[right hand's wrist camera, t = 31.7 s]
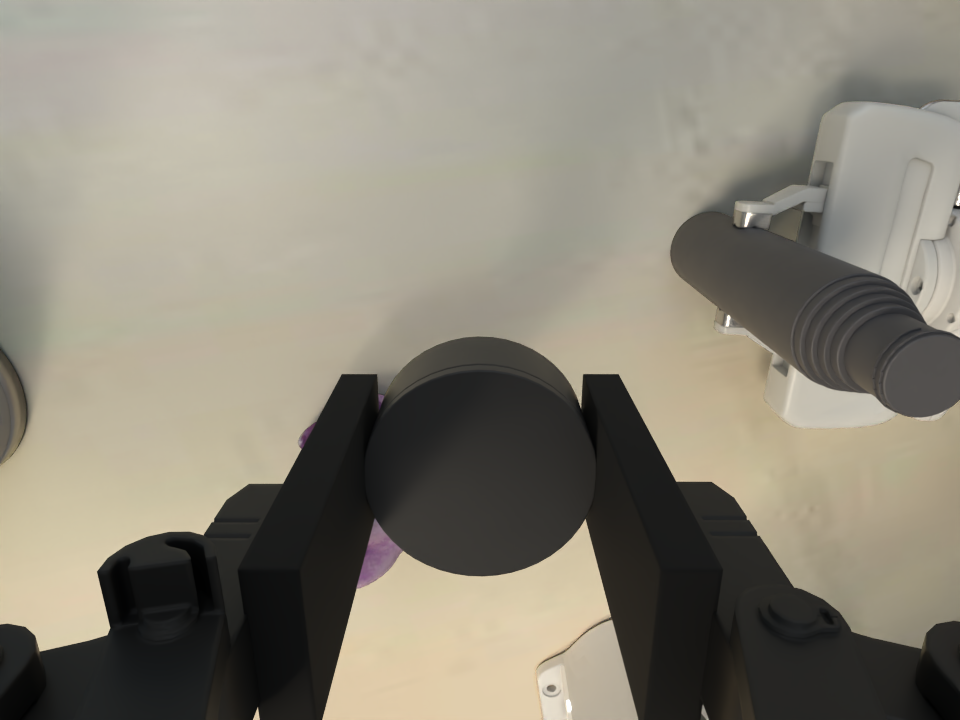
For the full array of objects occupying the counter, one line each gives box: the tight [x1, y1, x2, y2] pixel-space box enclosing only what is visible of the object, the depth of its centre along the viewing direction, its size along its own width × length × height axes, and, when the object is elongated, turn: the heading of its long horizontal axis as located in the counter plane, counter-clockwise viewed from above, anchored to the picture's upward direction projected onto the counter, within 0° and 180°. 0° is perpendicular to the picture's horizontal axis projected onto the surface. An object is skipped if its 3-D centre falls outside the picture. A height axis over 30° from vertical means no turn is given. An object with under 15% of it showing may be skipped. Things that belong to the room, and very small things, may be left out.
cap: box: [364, 337, 597, 576], centre depth 14 cm, size 4×4×2 cm
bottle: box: [671, 212, 960, 418], centre depth 36 cm, size 5×5×25 cm
